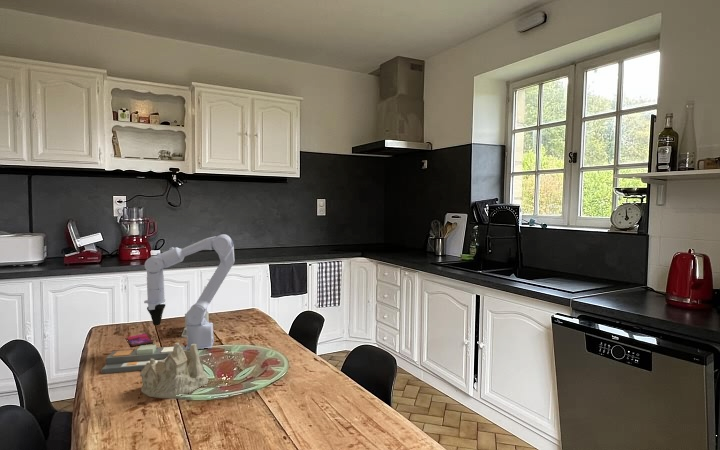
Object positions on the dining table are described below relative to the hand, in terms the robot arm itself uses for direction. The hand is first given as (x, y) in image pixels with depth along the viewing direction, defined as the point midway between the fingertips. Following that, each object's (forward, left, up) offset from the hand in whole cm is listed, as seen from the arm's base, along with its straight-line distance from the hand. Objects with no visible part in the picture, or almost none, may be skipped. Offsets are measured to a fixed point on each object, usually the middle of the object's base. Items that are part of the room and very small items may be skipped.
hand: (157, 324), depth 163 cm
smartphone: (+10, -14, -10) cm, 20 cm away
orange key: (+8, +13, -8) cm, 17 cm away
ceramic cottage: (-13, +38, -10) cm, 41 cm away
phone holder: (-10, -23, -10) cm, 27 cm away
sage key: (+1, +13, -6) cm, 14 cm away
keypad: (0, +13, -9) cm, 16 cm away
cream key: (-7, +13, -8) cm, 17 cm away
